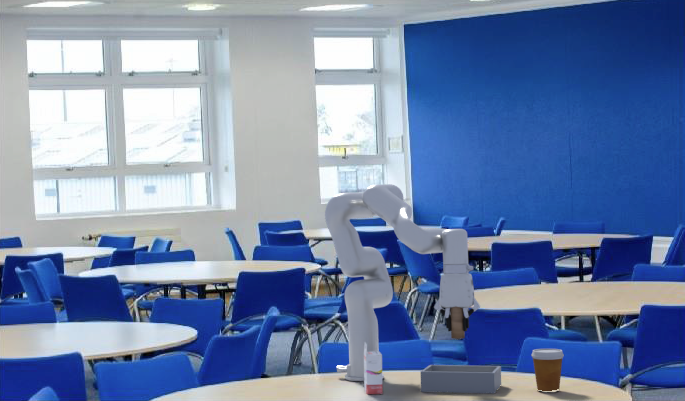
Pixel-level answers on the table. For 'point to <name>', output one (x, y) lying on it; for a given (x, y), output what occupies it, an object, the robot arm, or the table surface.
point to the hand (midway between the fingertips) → (457, 330)
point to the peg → (457, 323)
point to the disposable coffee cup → (547, 368)
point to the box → (461, 379)
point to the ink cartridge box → (372, 372)
